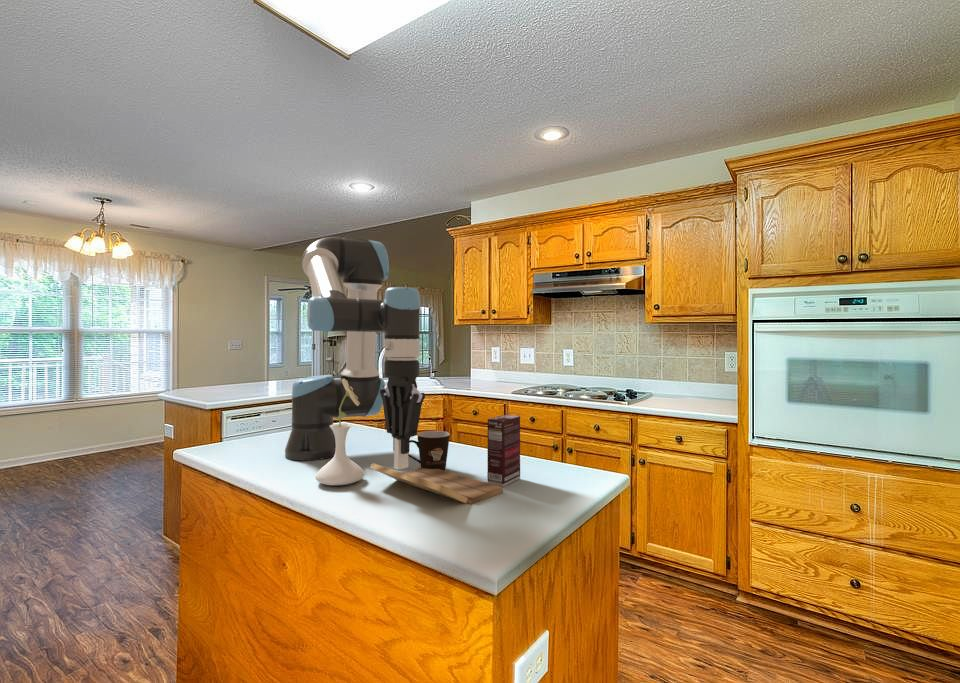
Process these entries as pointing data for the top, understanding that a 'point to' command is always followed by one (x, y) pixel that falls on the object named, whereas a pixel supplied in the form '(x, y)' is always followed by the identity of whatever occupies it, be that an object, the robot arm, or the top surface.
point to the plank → (420, 483)
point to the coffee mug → (432, 449)
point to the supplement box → (503, 450)
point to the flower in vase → (341, 452)
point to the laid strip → (458, 483)
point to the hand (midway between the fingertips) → (401, 467)
